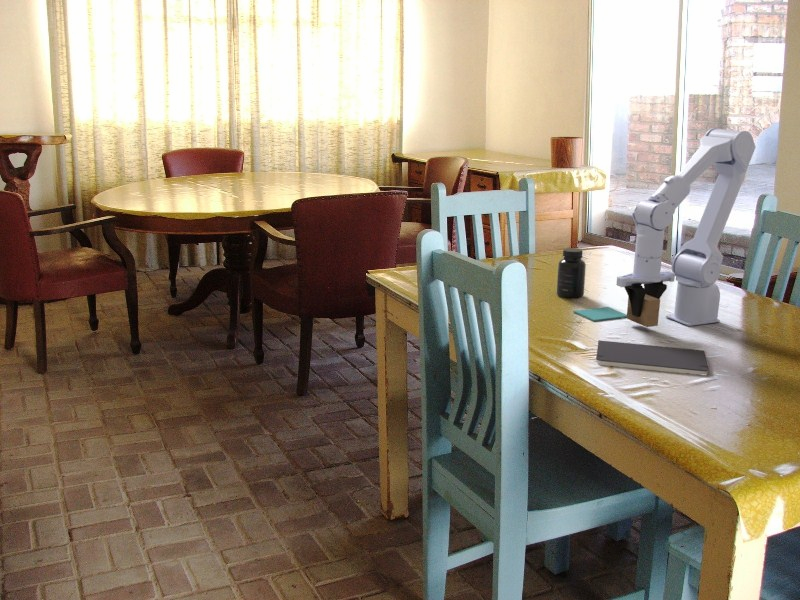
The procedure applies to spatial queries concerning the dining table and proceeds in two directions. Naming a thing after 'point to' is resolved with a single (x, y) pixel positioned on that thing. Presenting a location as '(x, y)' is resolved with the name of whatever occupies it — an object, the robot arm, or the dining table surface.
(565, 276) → the supplement bottle
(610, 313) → the teal mat
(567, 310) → the dining table surface
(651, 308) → the brown block
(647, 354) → the notebook
